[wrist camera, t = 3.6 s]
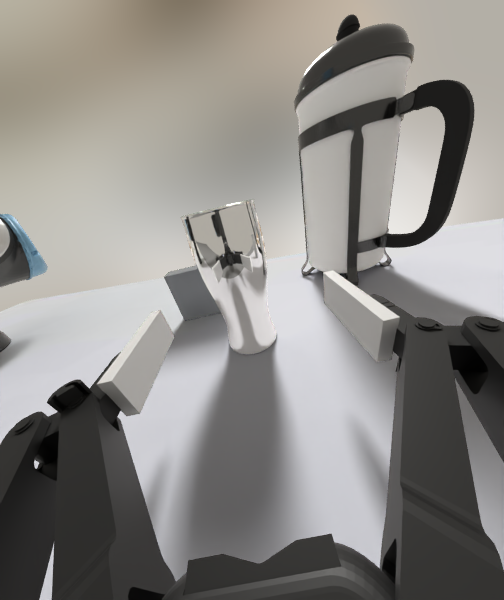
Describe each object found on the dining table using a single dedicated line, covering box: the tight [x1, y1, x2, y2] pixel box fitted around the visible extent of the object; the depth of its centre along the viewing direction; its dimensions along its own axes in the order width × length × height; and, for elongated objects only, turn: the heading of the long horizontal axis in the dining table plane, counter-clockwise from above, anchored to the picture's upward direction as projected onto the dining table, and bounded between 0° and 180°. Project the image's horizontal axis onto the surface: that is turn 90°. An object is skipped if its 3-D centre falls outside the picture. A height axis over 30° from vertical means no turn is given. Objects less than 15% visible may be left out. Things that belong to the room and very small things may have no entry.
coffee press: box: [294, 15, 474, 286], centre depth 27 cm, size 17×16×30 cm
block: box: [164, 266, 221, 321], centre depth 30 cm, size 2×9×8 cm, turn 94°
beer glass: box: [181, 199, 277, 355], centre depth 20 cm, size 7×7×15 cm
